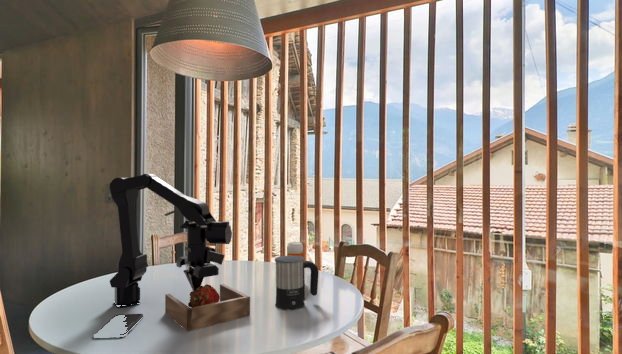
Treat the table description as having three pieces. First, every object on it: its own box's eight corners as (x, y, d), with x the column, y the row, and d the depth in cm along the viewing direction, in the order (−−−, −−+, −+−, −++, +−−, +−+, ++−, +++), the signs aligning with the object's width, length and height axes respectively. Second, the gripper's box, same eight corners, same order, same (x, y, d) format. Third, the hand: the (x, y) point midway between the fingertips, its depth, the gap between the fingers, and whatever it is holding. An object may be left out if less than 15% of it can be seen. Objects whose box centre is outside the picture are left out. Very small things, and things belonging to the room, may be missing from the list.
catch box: (187, 331, 100) (187, 310, 100) (165, 313, 114) (165, 294, 114) (249, 315, 112) (250, 296, 112) (223, 300, 125) (223, 283, 125)
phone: (91, 336, 95) (115, 314, 110) (91, 340, 95) (115, 318, 110) (124, 334, 96) (144, 313, 111) (124, 339, 96) (144, 317, 111)
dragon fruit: (196, 325, 108) (205, 316, 120) (221, 306, 110) (228, 299, 121) (179, 300, 109) (189, 293, 121) (204, 281, 110) (212, 276, 122)
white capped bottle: (302, 285, 144) (302, 244, 144) (286, 285, 144) (286, 244, 144) (303, 280, 150) (303, 241, 150) (287, 280, 150) (287, 241, 150)
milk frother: (284, 312, 114) (284, 262, 114) (259, 299, 127) (259, 253, 127) (322, 303, 123) (323, 256, 123) (295, 291, 135) (295, 249, 135)
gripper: (234, 244, 117) (234, 296, 117) (208, 236, 131) (208, 282, 131) (199, 248, 110) (199, 304, 110) (175, 239, 124) (175, 288, 124)
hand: (196, 293), depth 119 cm, fingers closed
